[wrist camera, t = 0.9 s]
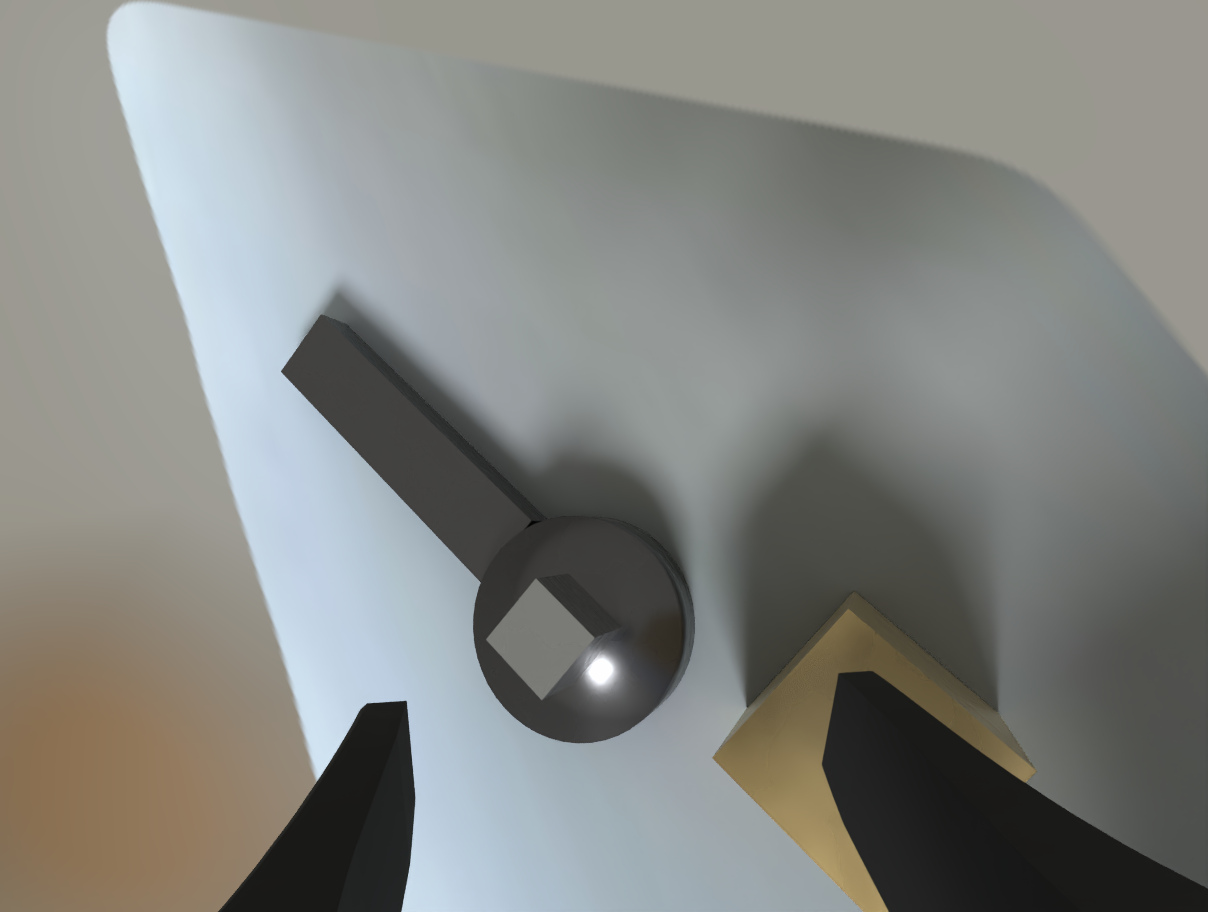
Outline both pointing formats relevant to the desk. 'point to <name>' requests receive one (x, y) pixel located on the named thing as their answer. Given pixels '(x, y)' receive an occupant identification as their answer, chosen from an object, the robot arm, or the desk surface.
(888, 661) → the brushed gold cube
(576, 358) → the desk surface
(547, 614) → the ratchet
